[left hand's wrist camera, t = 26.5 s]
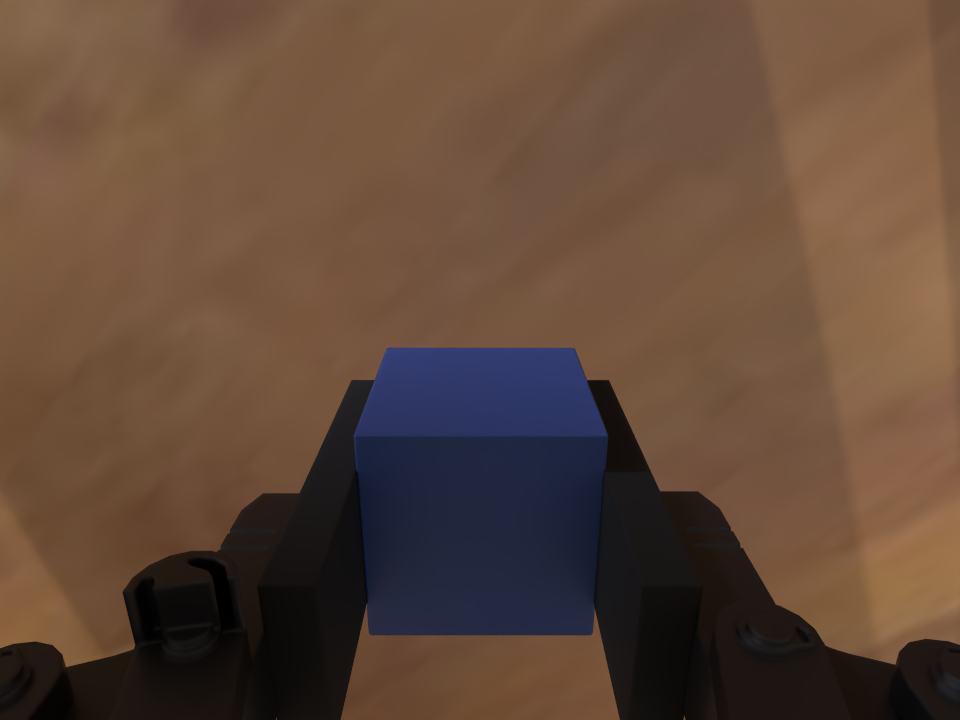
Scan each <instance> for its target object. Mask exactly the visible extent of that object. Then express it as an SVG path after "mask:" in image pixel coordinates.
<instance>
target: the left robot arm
mask: <svg viewBox="0 0 960 720" xmlns="http://www.w3.org/2000/svg"><path fill="white" fill-rule="evenodd" d="M374 381H375V380H352V381H351V383H350V385H349V387H348V389H347V392H346V394H345V396H344V398H343V400H342V402H341V405H340V407H339V409H338V411H337V413H336V415H335V418H334V420H333V422H332V424H331V426H330V428H329V431H328V433H327V435H326V437H325V439H324V442H323V444H322V446H321V448H320V450H319V452H318V455H317V457H316V459H315V461H314V463H313V465H312V468H311V470H310V472H309V474H308V476H307V479H306V481H305V483H304V485H303V487H302V489H301V492H300V493H271V494H262V495H260V496H259V497H258V498H257V499H255V500H254V501H253V502H252V503H250V504H249V505H248V506H246V507H245V508H244V509H243V510H241V512H240V514H239V516H238V517H237V519H236V521H235V522H234V524H233V526H232V528H231V529H230V534H227V536H226V538H225V540H224V541H223V543H222V545H221V550H218V552H214V551H189V552H185V553H180V554H176V555H172V556H169V557H166V558H164V559H162V560H160V561H158V562H155V563H153V564H151V565H149V566H148V567H146V568H145V569H144V570H142V571H141V572H140V573H138V574H137V575H136V576H134V577H133V578H132V580H131V581H130V582H129V584H128V585H127V586H126V588H125V589H124V591H123V596H124V600H125V604H126V608H127V612H128V616H129V621H130V625H131V629H132V633H133V637H134V641H135V648H134V649H133V650H131V651H128V652H125V653H121V654H118V655H115V656H111V657H107V658H103V659H99V660H95V661H91V662H86V663H82V664H78V665H74V666H70V667H66V666H65V662H64V659H63V656H62V654H61V653H60V652H59V651H58V650H57V649H56V648H55V647H54V646H53V645H49V644H44V643H40V642H27V643H18V644H12V645H9V646H6V647H3V648H0V720H276V717H277V720H340V719H341V715H342V711H343V706H344V702H345V697H346V693H347V688H348V684H349V680H350V675H351V671H352V666H353V662H354V657H355V653H356V648H357V644H358V640H359V635H360V631H361V626H362V622H363V617H364V613H365V609H366V604H367V598H366V586H365V573H364V560H363V547H362V534H361V521H360V508H359V495H358V482H357V470H356V458H355V445H354V434H355V431H356V429H357V426H358V423H359V421H360V418H361V415H362V413H363V410H364V407H365V405H366V402H367V400H368V397H369V394H370V392H371V389H372V386H373V384H374ZM587 382H588V384H589V387H590V390H591V392H592V395H593V397H594V400H595V403H596V405H597V408H598V410H599V413H600V416H601V418H602V421H603V423H604V426H605V429H606V431H607V434H608V446H607V459H606V470H605V471H604V480H603V493H602V506H601V519H600V532H599V544H598V557H597V570H596V583H595V596H594V606H595V611H596V615H597V620H598V624H599V629H600V633H601V638H602V642H603V646H604V651H605V655H606V660H607V664H608V669H609V673H610V677H611V682H612V686H613V691H614V695H615V700H616V704H617V708H618V713H619V717H620V720H683V719H684V716H685V719H686V720H960V645H958V644H955V643H952V642H949V641H940V640H931V639H923V640H919V641H914V642H909V643H908V644H907V645H906V646H905V647H904V648H903V649H902V650H901V651H900V652H899V654H898V658H897V661H896V665H894V664H890V663H885V662H881V661H877V660H873V659H869V658H864V657H860V656H856V655H852V654H848V653H845V652H841V651H838V650H835V649H832V648H829V647H827V646H825V644H824V643H823V641H822V640H821V638H820V636H819V635H818V633H817V632H816V630H815V629H814V628H813V627H812V626H811V625H809V624H808V623H807V622H806V621H805V620H804V619H802V618H801V617H800V616H799V615H797V614H795V613H793V612H791V611H789V610H787V609H785V608H783V607H781V606H778V605H776V604H775V602H774V601H773V599H772V597H771V596H770V594H769V592H768V590H767V589H766V587H765V585H764V584H763V582H762V580H761V578H760V577H759V575H758V573H757V572H756V570H755V568H754V567H753V565H752V563H751V561H750V560H749V558H748V556H747V555H746V553H745V551H744V550H743V548H740V543H739V541H738V539H737V538H736V536H735V534H734V532H731V527H730V526H729V524H728V522H727V521H726V519H725V517H724V515H723V514H722V512H721V510H720V509H719V508H718V507H717V506H716V505H714V504H713V503H712V502H711V501H709V500H708V499H707V498H705V497H704V496H703V495H702V494H700V493H699V492H686V491H660V490H659V488H658V486H657V484H656V482H655V480H654V477H653V475H652V473H651V471H650V469H649V467H648V464H647V462H646V460H645V458H644V456H643V453H642V451H641V449H640V447H639V445H638V443H637V440H636V438H635V436H634V434H633V432H632V430H631V427H630V425H629V423H628V421H627V419H626V417H625V414H624V412H623V410H622V408H621V406H620V404H619V401H618V399H617V397H616V395H615V393H614V390H613V388H612V386H611V384H610V382H609V380H587Z"/></svg>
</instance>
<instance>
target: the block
mask: <svg viewBox="0 0 960 720" xmlns="http://www.w3.org/2000/svg"><path fill="white" fill-rule="evenodd" d="M354 445H355V458H356V470H357V482H358V495H359V508H360V521H361V534H362V547H363V560H364V573H365V586H366V598H367V614H368V627H369V634H370V635H592V633H593V623H594V610H595V606H594V596H595V583H596V570H597V557H598V544H599V532H600V519H601V506H602V493H603V480H604V471H605V470H606V459H607V446H608V434H607V431H606V429H605V426H604V423H603V421H602V418H601V416H600V413H599V410H598V408H597V405H596V403H595V400H594V397H593V395H592V392H591V390H590V387H589V384H588V382H587V379H586V377H585V374H584V371H583V369H582V366H581V364H580V361H579V358H578V356H577V353H576V350H575V349H574V348H387V349H386V352H385V355H384V357H383V360H382V363H381V365H380V368H379V370H378V373H377V376H376V378H375V381H374V384H373V386H372V389H371V392H370V394H369V397H368V400H367V402H366V405H365V407H364V410H363V413H362V415H361V418H360V421H359V423H358V426H357V429H356V431H355V434H354Z"/></svg>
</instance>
